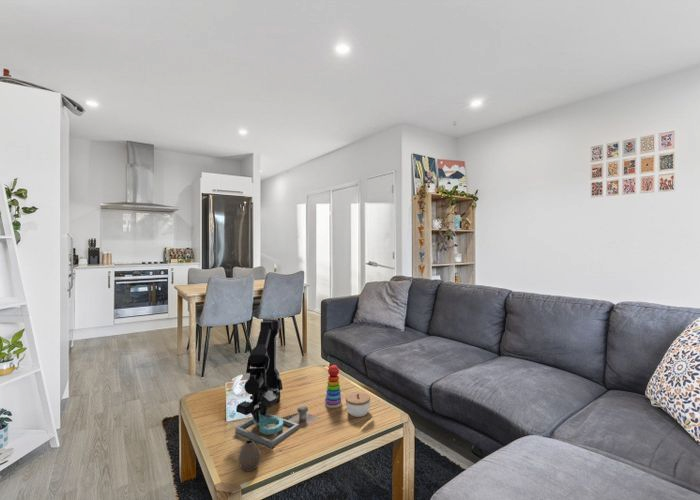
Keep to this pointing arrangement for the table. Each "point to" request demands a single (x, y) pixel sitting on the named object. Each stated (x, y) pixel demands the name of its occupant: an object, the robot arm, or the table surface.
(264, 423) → the ring
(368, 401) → the lidded jar
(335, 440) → the table surface
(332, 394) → the stacking toy
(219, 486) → the table surface
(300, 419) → the ring
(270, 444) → the tray
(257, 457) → the vase
